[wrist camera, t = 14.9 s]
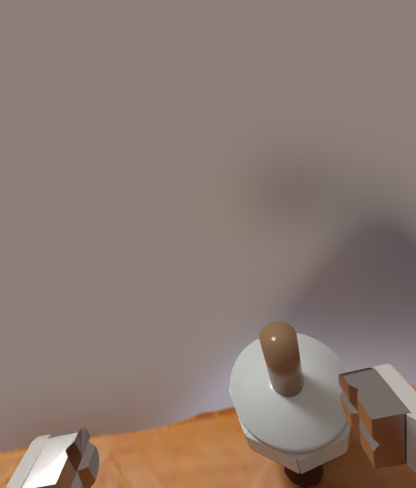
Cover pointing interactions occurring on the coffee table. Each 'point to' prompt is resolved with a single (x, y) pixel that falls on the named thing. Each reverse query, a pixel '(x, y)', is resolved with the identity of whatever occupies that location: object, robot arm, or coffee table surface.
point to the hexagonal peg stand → (290, 398)
